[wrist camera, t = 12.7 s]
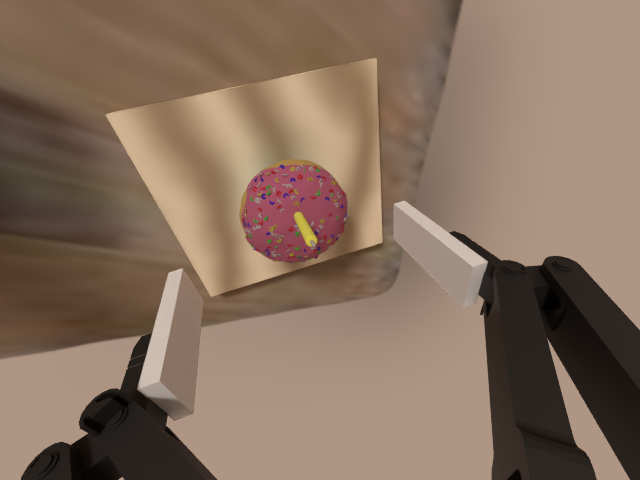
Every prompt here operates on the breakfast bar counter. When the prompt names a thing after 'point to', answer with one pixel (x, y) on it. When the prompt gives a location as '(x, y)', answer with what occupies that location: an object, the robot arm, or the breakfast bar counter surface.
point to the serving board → (257, 161)
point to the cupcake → (293, 211)
